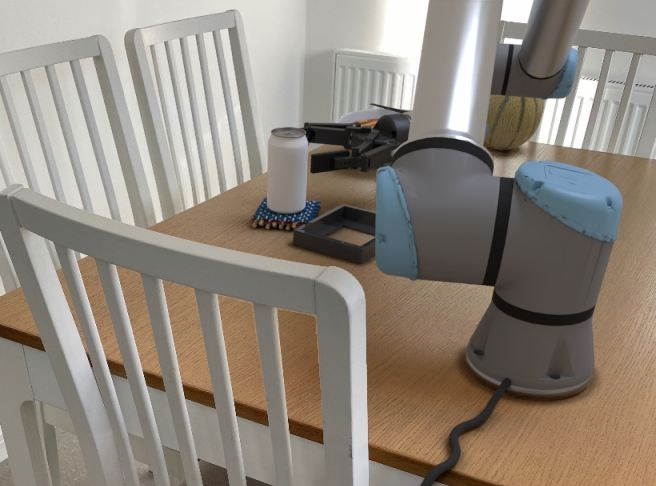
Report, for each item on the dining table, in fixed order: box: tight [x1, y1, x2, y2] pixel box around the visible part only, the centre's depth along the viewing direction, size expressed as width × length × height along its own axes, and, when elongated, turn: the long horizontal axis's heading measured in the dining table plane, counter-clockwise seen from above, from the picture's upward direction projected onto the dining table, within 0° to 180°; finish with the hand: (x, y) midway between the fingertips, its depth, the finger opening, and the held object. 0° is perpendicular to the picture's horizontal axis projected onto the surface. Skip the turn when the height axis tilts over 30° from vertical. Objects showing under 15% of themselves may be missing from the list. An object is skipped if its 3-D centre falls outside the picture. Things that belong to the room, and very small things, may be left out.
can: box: [266, 126, 309, 214], centre depth 134 cm, size 6×6×12 cm
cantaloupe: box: [483, 95, 545, 151], centre depth 168 cm, size 15×15×15 cm
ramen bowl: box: [337, 102, 413, 167], centre depth 162 cm, size 25×23×8 cm
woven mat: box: [251, 196, 322, 231], centre depth 139 cm, size 10×11×2 cm
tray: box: [292, 203, 376, 265], centre depth 132 cm, size 15×13×2 cm
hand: (291, 151), depth 132 cm, fingers open, 13 cm apart
